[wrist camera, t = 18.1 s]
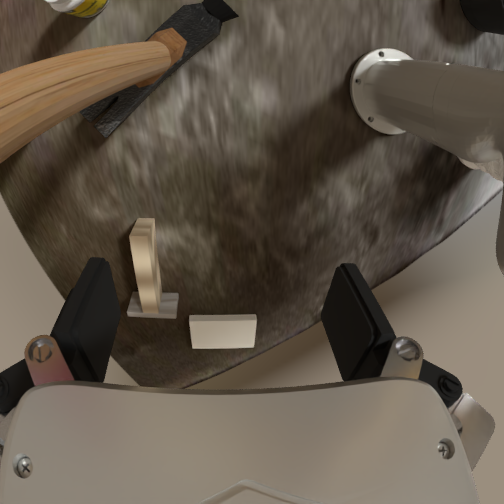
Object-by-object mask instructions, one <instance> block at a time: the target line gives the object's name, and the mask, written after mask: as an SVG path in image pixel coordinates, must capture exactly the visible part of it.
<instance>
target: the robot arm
mask: <svg viewBox="0 0 504 504" xmlns="http://www.w3.org/2000/svg"><path fill="white" fill-rule="evenodd" d="M355 80H357V82H355ZM350 95H351V100H352V103H353V106H354V108H355V110H356V112H357V114H358V115H359V116H360V118H361V119H362V120H363V121H364V122H365V123H366V124H367V125H368V126H370V127H371V128H373V129H375V130H377V131H379V132H381V133H385V134H394V135H396V134H401V133H404V132H409V133H411V134H413V135H416V136H418V137H420V138H422V139H424V140H426V141H428V142H430V143H433V144H435V145H437V146H439V147H441V148H443V149H444V150H446V151H448V152H450V153H452V154H454V155H456V156H458V157H460V158H461V159H464V160H466V161H469V162H472V163H486V162H490V161H493V160H496V159H498V158H500V157H503V162H504V71H500V70H493V69H487V68H481V67H475V66H468V65H461V64H453V63H445V62H436V61H425V60H413V59H412V58H411V57H409V56H408V55H407V54H405V53H403V52H401V51H399V50H396V49H392V48H379V49H375V50H372V51H370V52H368V53H366V54H364V55H363V56H362V57H361V58H360V59H359V60H358V62H357V63H356V65H355V66H354V69H353V71H352V73H351V78H350ZM368 118H369V120H368ZM503 183H504V176H503ZM496 257H497V262H498V265H499V268H500V270H501V272H502V274H503V275H504V185H503V195H502V205H501V211H500V219H499V225H498V231H497V239H496ZM120 315H121V311H120V306H119V303H118V299H117V295H116V291H115V287H114V282H113V278H112V274H111V269H110V265H109V262H108V261H105V259H104V258H97V257H91V258H90V259H89V261H88V262H87V264H86V266H85V268H84V270H83V272H82V274H81V276H80V278H79V280H78V282H77V284H76V285H75V287H74V288H73V289H72V290H71V291H70V293H69V295H68V297H67V299H66V301H65V303H64V305H63V307H62V309H61V312H60V314H59V316H58V318H57V321H56V323H55V325H54V327H53V330H52V332H51V334H50V336H48V335H40V336H37V337H35V338H33V339H32V340H31V341H30V342H29V343H28V344H27V346H26V348H25V359H23V360H21V361H20V362H18V363H16V364H14V365H13V366H11V367H10V368H8V369H6V370H4V371H3V372H1V373H0V504H480V502H479V498H478V494H477V489H476V485H475V482H474V478H473V474H472V471H473V469H474V467H475V466H476V464H477V462H478V461H479V459H480V457H481V455H482V454H483V452H484V450H485V448H486V446H487V444H488V442H489V440H490V438H491V436H492V434H493V432H494V429H495V422H494V419H493V417H492V416H491V415H490V414H489V413H488V412H487V411H486V410H485V409H484V408H483V407H482V406H481V405H479V404H478V403H477V402H476V401H475V400H474V399H473V398H472V397H471V396H470V395H468V394H467V393H465V394H463V393H462V385H461V383H460V381H459V380H458V379H457V377H455V376H454V375H452V374H451V373H449V372H447V371H445V370H443V369H441V368H439V367H437V366H436V365H434V364H432V363H430V362H428V361H426V360H424V359H423V350H422V348H421V346H420V345H419V344H418V343H417V342H416V341H415V340H413V339H411V338H408V337H398V338H396V336H395V334H394V331H393V329H392V327H391V325H390V324H389V322H388V320H387V318H386V316H385V314H384V313H383V311H382V309H381V307H380V305H379V304H378V302H377V300H376V298H375V297H374V295H373V293H372V291H371V290H370V288H369V286H368V284H367V283H366V281H365V279H364V278H363V276H362V274H361V273H360V271H359V269H358V268H357V266H356V265H355V264H354V263H342V264H341V265H340V267H337V268H336V270H335V273H334V276H333V279H332V283H331V286H330V289H329V292H328V295H327V297H326V300H325V303H324V306H323V309H322V312H321V319H322V322H323V325H324V328H325V331H326V334H327V336H328V339H329V342H330V345H331V347H332V350H333V353H334V356H335V359H336V362H337V365H338V368H339V371H340V374H341V377H342V379H343V381H344V382H336V383H326V384H317V385H307V386H297V387H284V388H267V389H244V390H243V389H242V390H241V389H240V390H195V389H192V390H191V389H168V388H152V387H140V386H128V385H117V384H108V383H103V381H104V379H105V374H106V370H107V366H108V362H109V357H110V353H111V350H112V346H113V342H114V338H115V334H116V331H117V327H118V323H119V320H120Z"/></svg>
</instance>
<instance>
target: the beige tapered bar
mask: <svg viewBox="0 0 504 504" xmlns="http://www.w3.org/2000/svg"><path fill="white" fill-rule="evenodd" d="M129 238H130V245H131V251H132V258H133V263H134V269H135V275H136V280H137V285H138V290H139V292H133V293H132V297H131V300H130V303H129V307H128V310H127V314H128V316H130V317H149V318H174V319H176V315H177V307H178V299H179V296H178V293H162V287H161V279H160V271H159V262H158V253H157V244H156V233H155V221H154V218H138V219H137V221H136V223H135V225H134V227H133V229H132V231H131V233H130V236H129Z"/></svg>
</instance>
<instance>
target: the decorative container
mask: <svg viewBox="0 0 504 504" xmlns="http://www.w3.org/2000/svg"><path fill="white" fill-rule="evenodd" d="M457 157H458V156H457ZM458 158H459V160H460V161H461V162H462V163H463V164H464V165H466V166H467V167H469V168H472V169H480V170H483V172H487V173H489V174H490V175H491V176H493V178H495V179H497V180H500V181H502V182H503V176H504V162H503V157H500V158H498V159H496V160H493V161H490V162H486V163H472V162H469V161H466V160H464V159H461V158H460V157H458Z"/></svg>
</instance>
